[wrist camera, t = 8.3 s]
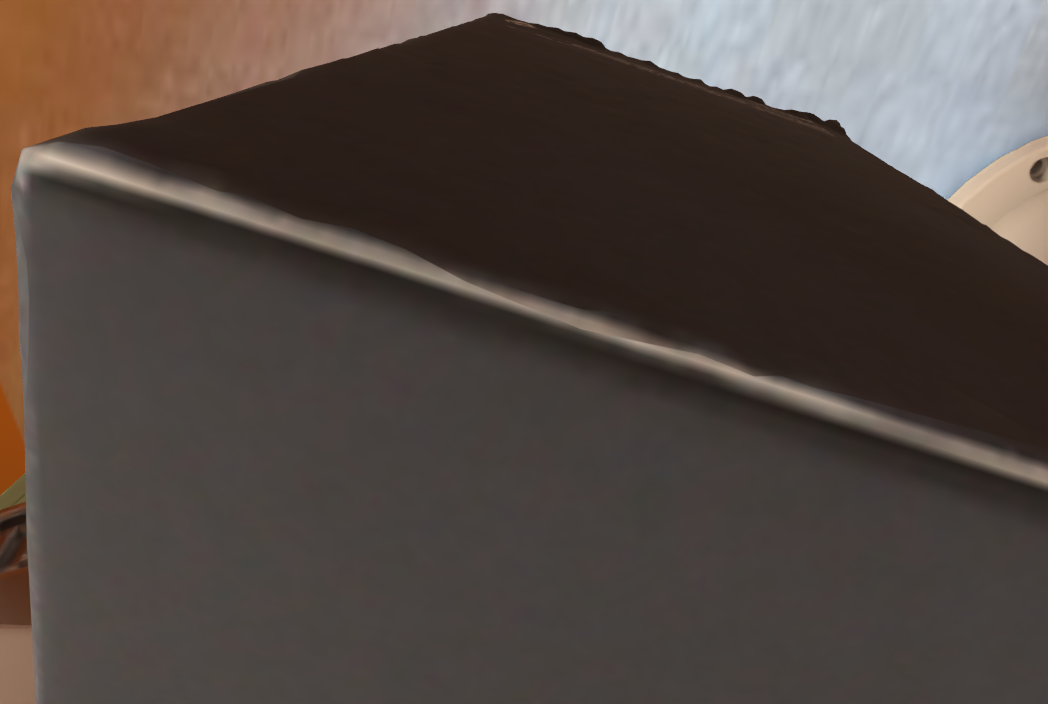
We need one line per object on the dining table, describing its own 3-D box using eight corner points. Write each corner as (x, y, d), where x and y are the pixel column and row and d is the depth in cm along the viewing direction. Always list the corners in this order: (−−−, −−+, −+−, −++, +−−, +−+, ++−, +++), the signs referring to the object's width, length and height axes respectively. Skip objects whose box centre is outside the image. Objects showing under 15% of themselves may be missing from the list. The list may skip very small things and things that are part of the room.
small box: (462, -11, 11) (-183, 7, 2) (848, 123, 12) (1961, 692, 2) (341, 499, 16) (-2, 1225, 7) (618, 579, 16) (662, 1362, 7)
